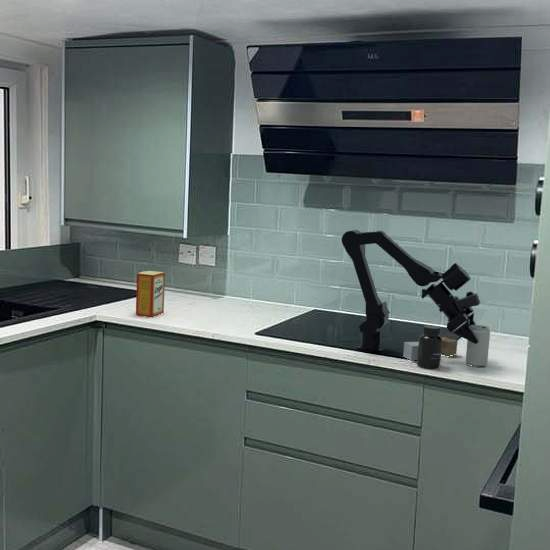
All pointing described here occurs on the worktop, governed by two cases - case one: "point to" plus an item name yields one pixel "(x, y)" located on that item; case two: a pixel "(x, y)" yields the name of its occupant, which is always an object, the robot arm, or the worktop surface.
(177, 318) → the worktop surface
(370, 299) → the robot arm
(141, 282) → the baking soda box
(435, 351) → the supplement bottle
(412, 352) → the grey plastic block
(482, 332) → the beverage can
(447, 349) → the walnut block
